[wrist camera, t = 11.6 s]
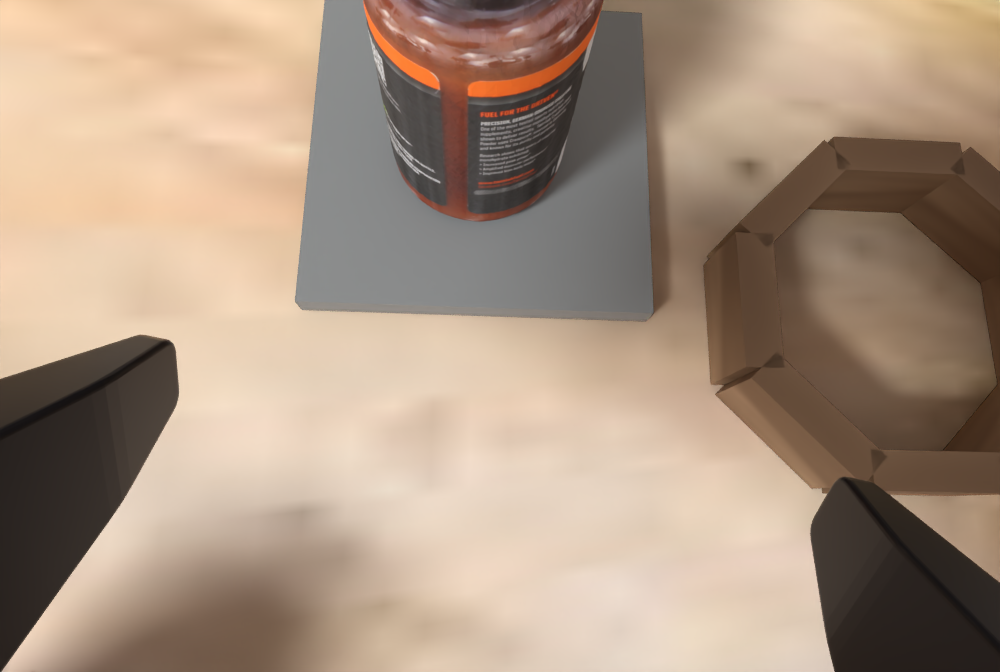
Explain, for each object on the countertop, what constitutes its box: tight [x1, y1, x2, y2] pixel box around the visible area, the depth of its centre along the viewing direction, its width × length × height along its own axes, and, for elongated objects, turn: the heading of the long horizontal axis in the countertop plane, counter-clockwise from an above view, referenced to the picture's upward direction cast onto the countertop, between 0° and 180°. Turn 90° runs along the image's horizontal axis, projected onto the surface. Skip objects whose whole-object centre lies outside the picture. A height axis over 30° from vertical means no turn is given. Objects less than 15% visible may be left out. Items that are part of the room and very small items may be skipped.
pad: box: [295, 0, 654, 321], centre depth 25 cm, size 12×12×1 cm
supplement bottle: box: [363, 0, 603, 222], centre depth 19 cm, size 6×6×11 cm
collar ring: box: [704, 137, 1000, 496], centre depth 23 cm, size 12×12×3 cm
